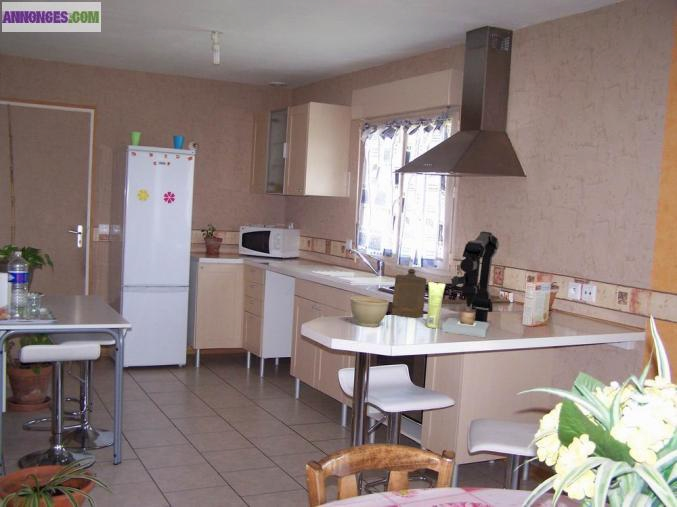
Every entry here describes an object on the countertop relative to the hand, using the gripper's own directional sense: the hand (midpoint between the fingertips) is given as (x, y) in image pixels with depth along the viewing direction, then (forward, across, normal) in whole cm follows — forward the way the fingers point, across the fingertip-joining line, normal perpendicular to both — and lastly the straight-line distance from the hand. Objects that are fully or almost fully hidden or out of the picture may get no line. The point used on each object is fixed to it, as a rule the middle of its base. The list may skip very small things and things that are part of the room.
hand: (468, 306), depth 307 cm
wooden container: (+11, -21, -30) cm, 38 cm away
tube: (+11, +4, -14) cm, 18 cm away
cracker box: (+10, -43, +28) cm, 53 cm away
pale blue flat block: (+10, 0, 0) cm, 10 cm away
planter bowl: (+11, +21, -39) cm, 45 cm away
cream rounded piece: (+10, 0, 0) cm, 10 cm away
